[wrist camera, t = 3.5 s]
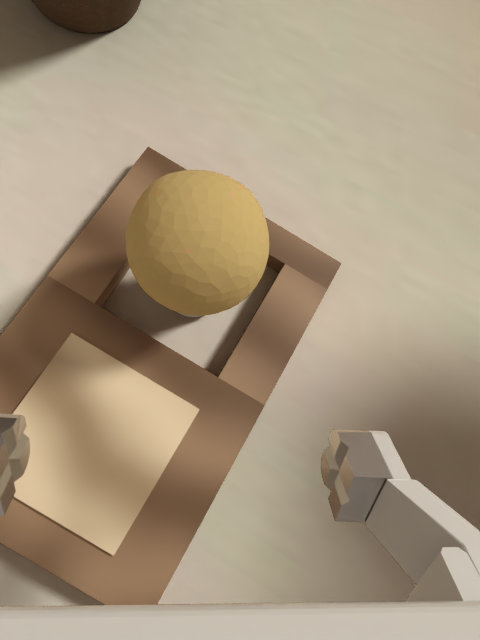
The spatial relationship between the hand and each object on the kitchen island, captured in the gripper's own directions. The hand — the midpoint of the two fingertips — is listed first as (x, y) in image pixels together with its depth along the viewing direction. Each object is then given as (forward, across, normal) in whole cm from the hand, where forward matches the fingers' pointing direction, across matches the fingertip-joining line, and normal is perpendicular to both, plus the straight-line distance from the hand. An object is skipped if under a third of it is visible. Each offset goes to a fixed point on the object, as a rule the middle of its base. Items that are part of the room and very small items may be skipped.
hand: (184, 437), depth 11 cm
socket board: (+12, +2, +6) cm, 13 cm away
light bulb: (+15, 0, +3) cm, 15 cm away
